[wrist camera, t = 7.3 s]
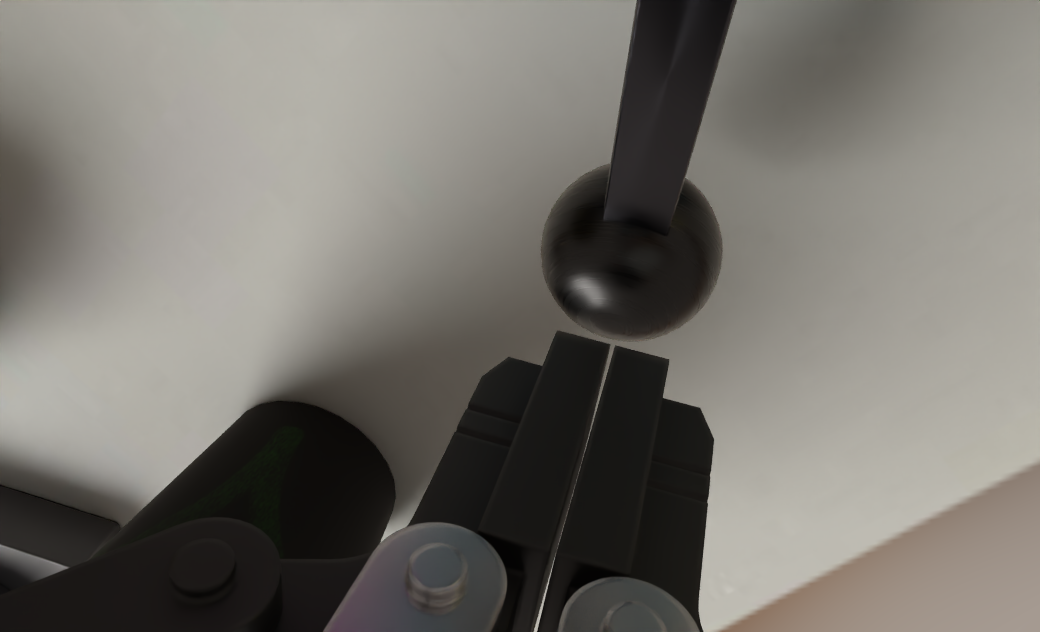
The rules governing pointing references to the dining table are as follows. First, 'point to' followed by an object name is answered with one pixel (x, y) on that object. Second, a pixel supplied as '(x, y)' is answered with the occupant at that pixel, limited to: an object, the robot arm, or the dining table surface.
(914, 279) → the dining table surface
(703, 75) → the lever
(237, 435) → the cup
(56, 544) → the button housing
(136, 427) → the dining table surface
